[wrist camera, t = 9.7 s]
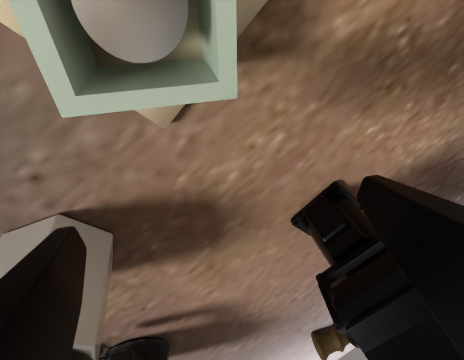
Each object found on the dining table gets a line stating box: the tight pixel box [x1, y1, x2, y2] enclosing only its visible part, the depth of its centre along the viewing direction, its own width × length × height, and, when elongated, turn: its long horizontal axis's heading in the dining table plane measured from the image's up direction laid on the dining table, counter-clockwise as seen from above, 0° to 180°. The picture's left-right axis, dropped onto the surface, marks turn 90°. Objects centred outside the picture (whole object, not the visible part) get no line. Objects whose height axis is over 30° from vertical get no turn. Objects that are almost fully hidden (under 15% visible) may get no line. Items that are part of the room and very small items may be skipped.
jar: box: [0, 215, 113, 360], centre depth 17 cm, size 9×8×12 cm
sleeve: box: [8, 0, 237, 118], centre depth 11 cm, size 7×7×5 cm
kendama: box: [311, 327, 350, 360], centre depth 49 cm, size 6×10×20 cm
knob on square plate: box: [0, 0, 268, 130], centre depth 11 cm, size 10×10×6 cm
